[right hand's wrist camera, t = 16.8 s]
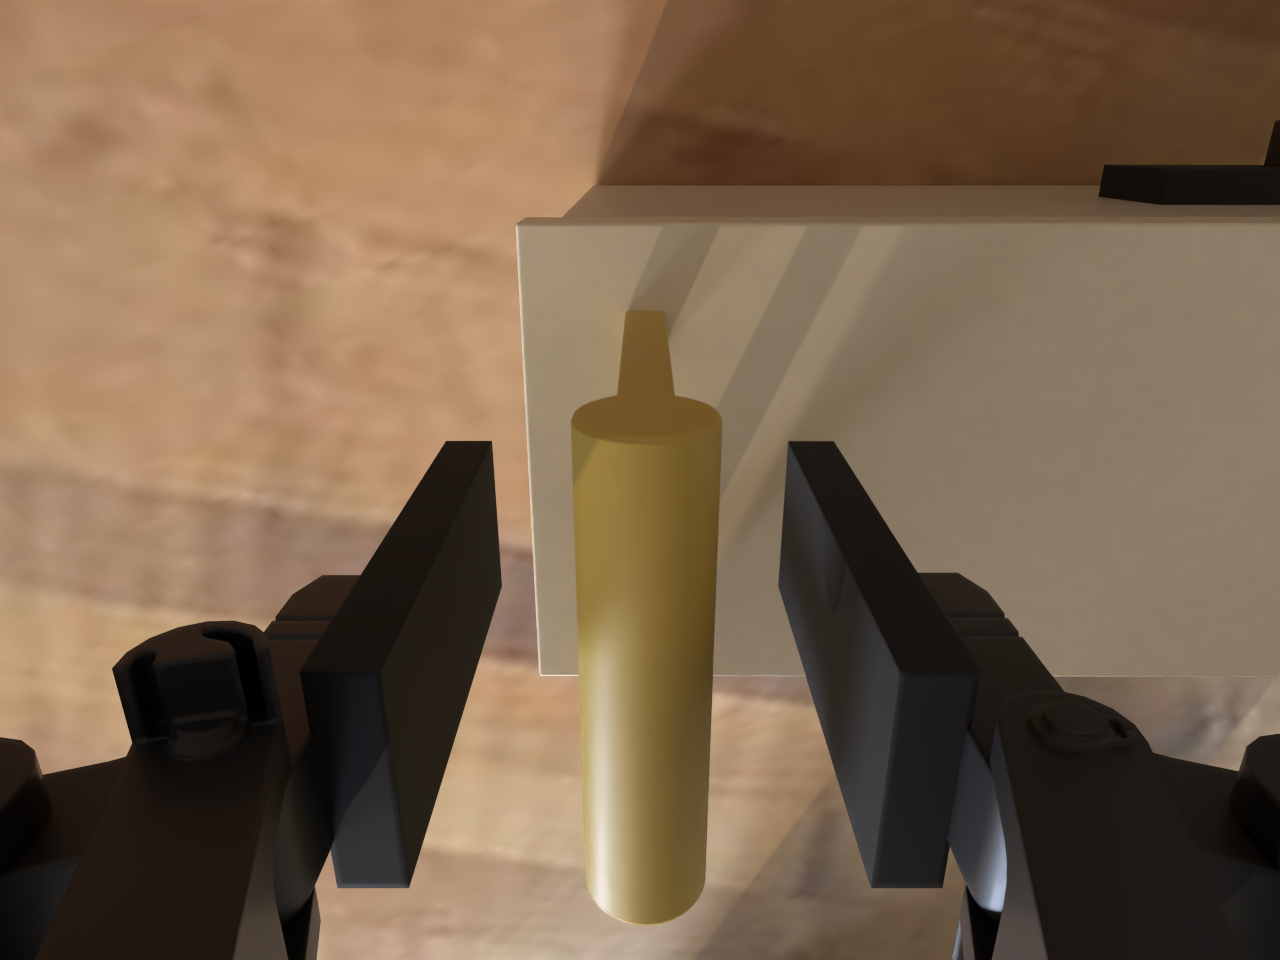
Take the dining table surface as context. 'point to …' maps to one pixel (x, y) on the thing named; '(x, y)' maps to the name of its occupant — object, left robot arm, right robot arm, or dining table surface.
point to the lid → (883, 461)
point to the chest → (885, 202)
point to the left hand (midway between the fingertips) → (1088, 394)
